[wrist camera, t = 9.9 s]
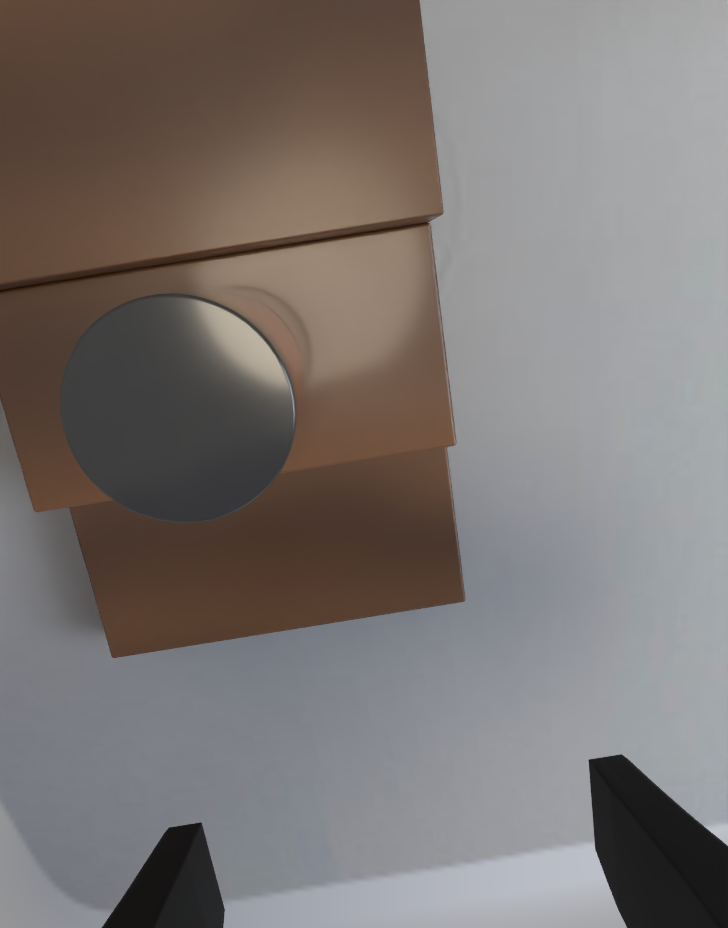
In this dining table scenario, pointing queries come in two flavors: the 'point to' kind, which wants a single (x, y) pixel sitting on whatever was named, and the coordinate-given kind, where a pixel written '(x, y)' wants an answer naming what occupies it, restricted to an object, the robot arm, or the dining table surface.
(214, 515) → the spice jar
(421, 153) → the spice shelf
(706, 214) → the dining table surface
